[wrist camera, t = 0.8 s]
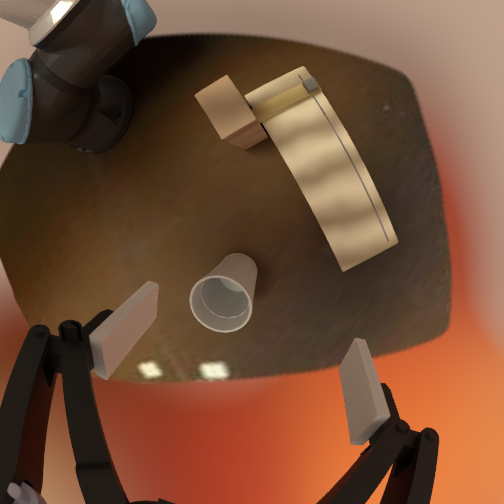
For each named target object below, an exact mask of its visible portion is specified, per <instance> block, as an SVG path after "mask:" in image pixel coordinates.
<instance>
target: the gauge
mask: <svg viewBox="0 0 504 504" xmlns="http://www.w3.org/2000/svg"><path fill="white" fill-rule="evenodd" d="M321 90H322V89H321V88H320V86H319V85H318V83H317V82H316V80H315V79H314V77H311V78H309V79H307V80H305V81H303V83H302V84H300V85H298V86H296V87H294V88H292V89H290V90H288V91H286V92H284V93H282V94H280V95H278V96H276V97H274V98H272V99H270V100H268V101H267V102H265V103H263V104H261V105H259V106H257V107H256V108H254V109H252V110H251V109H250V107H249V106H248V104H247V103H246V101H245V100H244V98H243V97H242V95H241V94H240V92H239V91H238V90H237V88H236V87H235V85H234V84H233V83H232V81H231V80H230V78H229V77H228V76H227V75H226V76H224V77H223V78H221V79H219V80H218V81H216V82H214V83H213V84H211V85H209V86H208V87H206V88H205V89H203V90H202V91H200V92H198V93H197V94H195V97H196V98H197V100H198V101H199V103H200V105H201V106H202V108H203V109H204V111H205V113H206V114H207V116H208V118H209V119H210V121H211V122H212V124H213V126H214V127H215V129H216V131H217V132H218V134H219V136H220V137H221V139H222V140H224V141H226V142H229V143H231V144H233V145H235V146H237V147H239V148H241V149H244V150H246V149H248V148H250V147H252V146H253V145H255V144H257V143H259V142H260V141H262V140H264V139H266V138H268V136H267V134H266V133H265V131H264V129H263V128H262V126H261V124H260V123H262V122H263V121H265V120H267V119H269V118H271V117H273V116H274V115H276V114H278V113H280V112H282V111H284V110H286V109H288V108H290V107H292V106H294V105H296V104H298V103H300V102H302V101H304V100H306V99H308V98H310V97H312V96H314V95H316V94H318V93H321Z"/></svg>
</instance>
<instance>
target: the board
mask: <svg viewBox="0 0 504 504" xmlns="http://www.w3.org/2000/svg"><path fill="white" fill-rule="evenodd" d="M309 78H311V75H310V74H309V72H308V71H307V70H306V68H305V67H304V66H302V67H300V68H298V69H296V70H293V71H291V72H289V73H287V74H285V75H283V76H281V77H279V78H277V79H275V80H273V81H271V82H269V83H267V84H265V85H263V86H261V87H260V88H258V89H256V90H254V91H252V92H250V93H249V94H247V95H245V97H246V99H247V101H248V102H249V104H250V105H251V107H252V108H253V109H254V108H256V107H257V106H259V105H261V104H263V103H265V102H267V101H268V100H270V99H272V98H274V97H276V96H278V95H280V94H282V93H284V92H286V91H288V90H290V89H292V88H294V87H296V86H298V85H300V84H302V83H303V81H305V80H307V79H309ZM262 124H263V126H264V127H265V129H266V130H267V132H268V134H269V135H270V137H271V138H272V140H273V142H274V143H275V145H276V147H277V148H278V150H279V152H280V154H281V155H282V157H283V159H284V160H285V162H286V164H287V166H288V167H289V169H290V171H291V173H292V174H293V176H294V178H295V180H296V181H297V183H298V185H299V187H300V189H301V190H302V192H303V194H304V196H305V198H306V200H307V201H308V203H309V205H310V207H311V209H312V211H313V213H314V215H315V217H316V219H317V220H318V222H319V224H320V226H321V228H322V230H323V232H324V234H325V236H326V238H327V240H328V242H329V244H330V246H331V248H332V250H333V252H334V254H335V256H336V259H337V261H338V263H339V265H340V267H341V269H342V271H343V272H344V271H346V270H348V269H350V268H352V267H354V266H356V265H357V264H359V263H361V262H363V261H365V260H367V259H369V258H371V257H373V256H375V255H377V254H378V253H380V252H382V251H384V250H386V249H388V248H390V247H391V246H393V245H395V244H397V243H398V240H397V237H396V235H395V232H394V230H393V227H392V225H391V222H390V220H389V217H388V215H387V212H386V210H385V208H384V205H383V203H382V201H381V199H380V196H379V194H378V192H377V190H376V188H375V186H374V183H373V181H372V179H371V177H370V175H369V173H368V171H367V169H366V167H365V165H364V163H363V161H362V159H361V157H360V155H359V154H358V152H357V150H356V148H355V146H354V144H353V142H352V141H351V139H350V137H349V135H348V133H347V132H346V130H345V128H344V127H343V125H342V123H341V121H340V120H339V118H338V116H337V115H336V113H335V112H334V110H333V108H332V107H331V105H330V104H329V102H328V100H327V99H326V97H325V96H324V94H323V93H322V91H321V93H318V94H316V95H314V96H312V97H310V98H308V99H306V100H304V101H302V102H300V103H298V104H296V105H294V106H292V107H290V108H288V109H286V110H284V111H282V112H280V113H278V114H276V115H274V116H273V117H271V118H269V119H267V120H265V121H263V122H262Z"/></svg>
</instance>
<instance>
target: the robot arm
mask: <svg viewBox="0 0 504 504" xmlns="http://www.w3.org/2000/svg"><path fill="white" fill-rule="evenodd" d="M0 18H2V19H5V20H7V21H10V22H12V23H15V24H17V25H19V26H22V27H24V28H26V29H28V31H29V40H30V45H32V46H34V47H36V48H37V49H36V50H35V52H34V53H33V54H32V56H31V57H30V58H29V59H28V60H27V59H26V58H22V59H18V60H16V61H14V62H13V63H12V64H11V65H10V66H9V68H8V69H7V70H6V72H5V74H4V76H3V78H2V80H1V82H0V140H2V141H3V142H6V143H18V144H28V143H67V144H68V145H70V146H72V147H74V148H76V149H77V150H79V151H81V152H85V153H100V152H104V151H106V150H108V149H109V148H111V147H112V146H114V145H115V144H116V143H117V142H118V141H119V140H120V138H121V137H122V136H123V134H124V133H125V131H126V129H127V127H128V125H129V122H130V119H131V116H132V111H133V97H132V92H131V90H130V88H129V86H128V85H127V84H126V82H124V81H123V80H121V79H119V78H117V77H114V76H111V75H105V74H106V73H107V72H108V71H109V70H110V68H111V67H112V66H113V65H115V64H116V63H117V62H118V61H119V60H120V59H121V58H122V57H123V56H124V55H125V54H126V53H127V52H128V51H129V50H130V49H132V48H133V47H136V46H137V45H138V42H139V41H140V40H142V39H143V38H144V37H145V36H146V35H147V34H148V33H149V32H151V31H152V30H153V28H154V27H155V25H156V22H157V19H156V15H155V14H154V12H153V10H152V9H151V7H150V6H149V4H148V3H147V2H146V0H0ZM158 288H159V284H157V283H154V282H151V281H148V282H146V283H145V284H144V285H143V286H142V287H141V288H140V289H139V290H137V291H136V292H135V293H134V294H133V295H132V296H131V297H130V298H129V299H127V300H126V301H125V302H124V303H123V304H122V305H121V306H120V307H119V308H118V309H117V310H115V311H111V310H109V309H107V310H104V311H102V312H100V313H99V314H98V315H96V316H95V317H94V318H93V319H92V320H91V321H90V322H88V323H87V324H86V325H85V326H84V327H82V325H81V324H80V323H79V322H77V321H75V320H66V321H64V322H62V323H61V324H60V325H59V327H58V330H59V335H60V337H59V336H55V335H52V334H50V330H49V328H48V327H47V326H45V325H34V326H33V327H31V328H30V330H29V332H28V334H27V336H26V338H25V340H24V343H23V345H22V347H21V350H20V352H19V355H18V357H17V360H16V362H15V365H14V367H13V370H12V373H11V376H10V378H9V381H8V384H7V387H6V390H5V394H4V397H3V400H2V404H1V407H0V504H47V503H46V502H45V500H44V498H43V497H42V496H41V490H42V483H43V466H44V452H45V442H46V433H47V426H48V419H49V413H50V407H51V402H52V397H53V392H54V387H55V383H56V378H57V374H58V373H61V374H62V380H63V392H64V401H65V409H66V416H67V422H68V428H69V434H70V438H71V444H72V448H73V453H74V457H75V461H76V468H75V469H76V474H77V478H78V482H79V485H80V488H81V491H82V494H83V497H84V500H85V503H86V504H174V503H171V502H168V501H165V500H163V499H160V498H159V500H158V502H156V501H135V502H131V503H130V502H129V500H128V498H127V496H126V494H125V491H124V490H123V487H122V485H121V482H120V480H119V477H118V475H117V472H116V470H115V466H114V464H113V461H112V458H111V455H110V452H109V449H108V445H107V442H106V439H105V436H104V432H103V428H102V425H101V421H100V417H99V413H98V408H97V404H96V400H95V395H94V390H93V385H92V379H91V374H90V371H91V370H92V369H93V367H94V370H95V374H96V375H98V376H100V377H102V378H104V379H106V380H107V379H108V378H109V377H110V376H111V374H112V373H113V372H114V370H115V369H116V368H117V367H118V365H119V364H120V363H121V361H122V360H123V359H124V358H125V356H126V355H127V354H128V353H129V351H130V350H131V349H132V348H133V346H134V345H135V344H136V342H137V341H138V340H139V339H140V338H141V336H142V335H143V334H144V333H145V331H146V330H147V329H148V328H149V326H150V325H151V324H152V323H153V321H154V320H155V319H156V311H157V299H158ZM339 373H340V379H341V384H342V390H343V395H344V401H345V408H346V414H347V420H348V427H349V434H350V441H351V445H364V444H365V443H366V441H367V440H369V443H370V445H369V446H368V447H367V448H366V449H365V450H364V451H363V452H362V453H361V454H360V455H361V456H360V457H359V458H358V459H357V461H356V462H355V463H354V464H353V465H352V466H351V468H350V469H349V470H348V471H347V472H346V474H345V475H344V476H343V477H342V478H341V479H340V480H339V481H338V482H337V483H336V484H335V485H334V487H333V488H332V489H331V490H330V491H329V492H328V493H327V494H326V495H325V496H324V497H323V498H322V499H321V500H320V501H319V502H317V504H365V503H366V502H367V500H368V499H369V498H370V496H371V495H372V494H373V492H374V491H375V489H376V488H377V487H378V485H379V484H380V482H381V481H382V479H383V478H384V476H385V475H386V473H387V472H388V470H389V469H390V467H391V466H392V464H393V466H392V470H391V473H390V476H389V479H388V482H387V485H386V488H385V491H384V494H383V496H382V499H381V502H380V504H430V499H431V494H432V489H433V484H434V478H435V472H436V465H437V456H438V446H439V435H438V434H437V432H436V431H435V430H434V429H432V428H425V429H423V430H422V431H421V432H416V431H413V430H410V427H409V425H408V424H407V423H406V422H405V421H404V420H401V419H400V417H399V414H398V411H397V408H396V405H395V402H394V399H393V397H392V393H391V390H390V389H389V387H388V386H387V385H386V384H385V383H380V381H379V378H378V375H377V372H376V369H375V366H374V363H373V360H372V357H371V355H370V352H369V349H368V346H367V344H366V341H365V340H364V339H359V338H355V339H354V341H353V343H352V345H351V347H350V348H349V350H348V352H347V354H346V356H345V358H344V359H343V361H342V363H341V365H340V366H339Z"/></svg>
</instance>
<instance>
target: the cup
mask: <svg viewBox="0 0 504 504" xmlns="http://www.w3.org/2000/svg"><path fill="white" fill-rule="evenodd" d="M256 278H257V267H256V264H255V263H254V261H253V260H252V259H251V258H250V257H249V256H247V255H245V254H241V253H233V254H230V255H228V256H226V257H225V258H224V259H223V260H222V261H221V263H220V264H219V265H218V266H216V267H215V268H214V269H213V270H212V271H211V272H209V273H208V274H207V275H205V276H204V277H203V278H202V279H201V280H199V281H198V282H197V283H196V284H195V285H194V287H193V288H192V290H191V293H190V307H191V310H192V312H193V314H194V316H195V317H196V319H197V320H198V321H199V322H200V323H201V324H203V325H204V326H205V327H207V328H209V329H211V330H214V331H217V332H233V331H236V330H238V329H240V328H242V327H243V326H244V325H245V324H246V323H247V322H248V320H249V319H250V317H251V313H252V306H253V298H254V291H255V284H256Z"/></svg>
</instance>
